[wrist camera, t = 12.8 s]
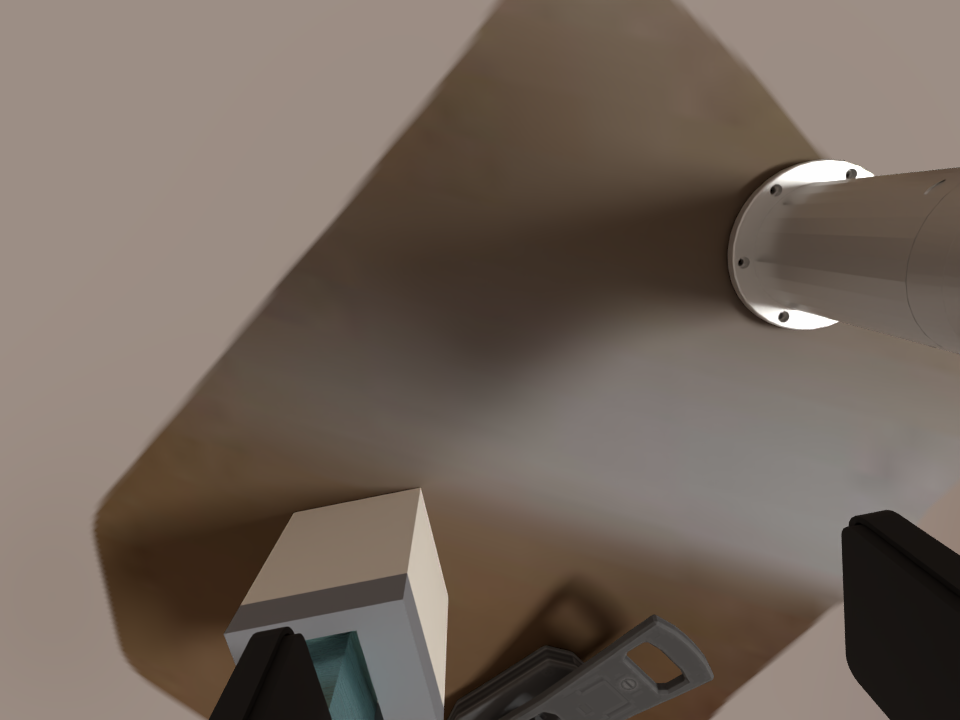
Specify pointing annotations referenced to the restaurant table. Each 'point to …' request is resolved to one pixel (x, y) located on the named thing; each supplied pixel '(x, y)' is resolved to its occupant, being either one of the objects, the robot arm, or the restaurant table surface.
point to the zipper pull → (587, 681)
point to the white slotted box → (361, 595)
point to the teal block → (344, 676)
